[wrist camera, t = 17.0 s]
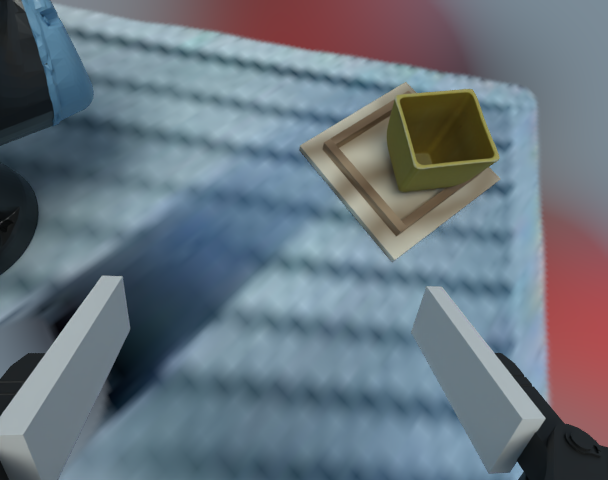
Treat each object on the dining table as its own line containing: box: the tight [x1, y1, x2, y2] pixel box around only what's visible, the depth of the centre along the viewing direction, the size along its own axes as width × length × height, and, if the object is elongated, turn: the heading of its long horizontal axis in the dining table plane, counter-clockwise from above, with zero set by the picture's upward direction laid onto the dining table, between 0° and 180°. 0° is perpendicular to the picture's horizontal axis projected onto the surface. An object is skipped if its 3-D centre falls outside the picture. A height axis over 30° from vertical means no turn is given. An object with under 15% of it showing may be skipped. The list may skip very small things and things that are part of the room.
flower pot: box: [387, 89, 499, 192], centre depth 38 cm, size 9×9×9 cm
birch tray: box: [300, 82, 500, 262], centre depth 43 cm, size 18×18×2 cm
